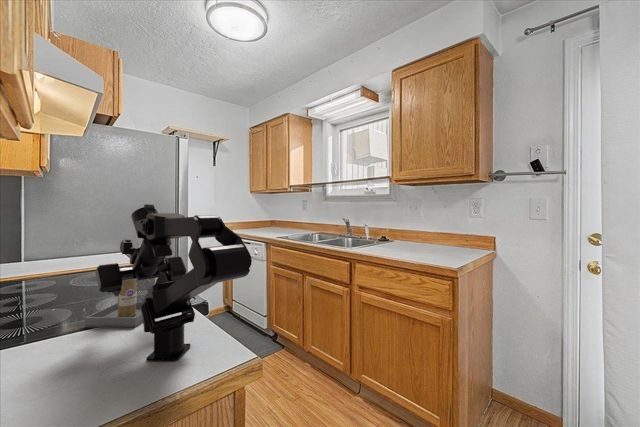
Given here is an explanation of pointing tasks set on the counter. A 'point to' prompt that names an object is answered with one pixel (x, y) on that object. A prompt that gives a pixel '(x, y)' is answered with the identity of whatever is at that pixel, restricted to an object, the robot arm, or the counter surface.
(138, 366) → the counter surface
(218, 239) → the robot arm
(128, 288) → the sprinkles bottle
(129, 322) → the tray
